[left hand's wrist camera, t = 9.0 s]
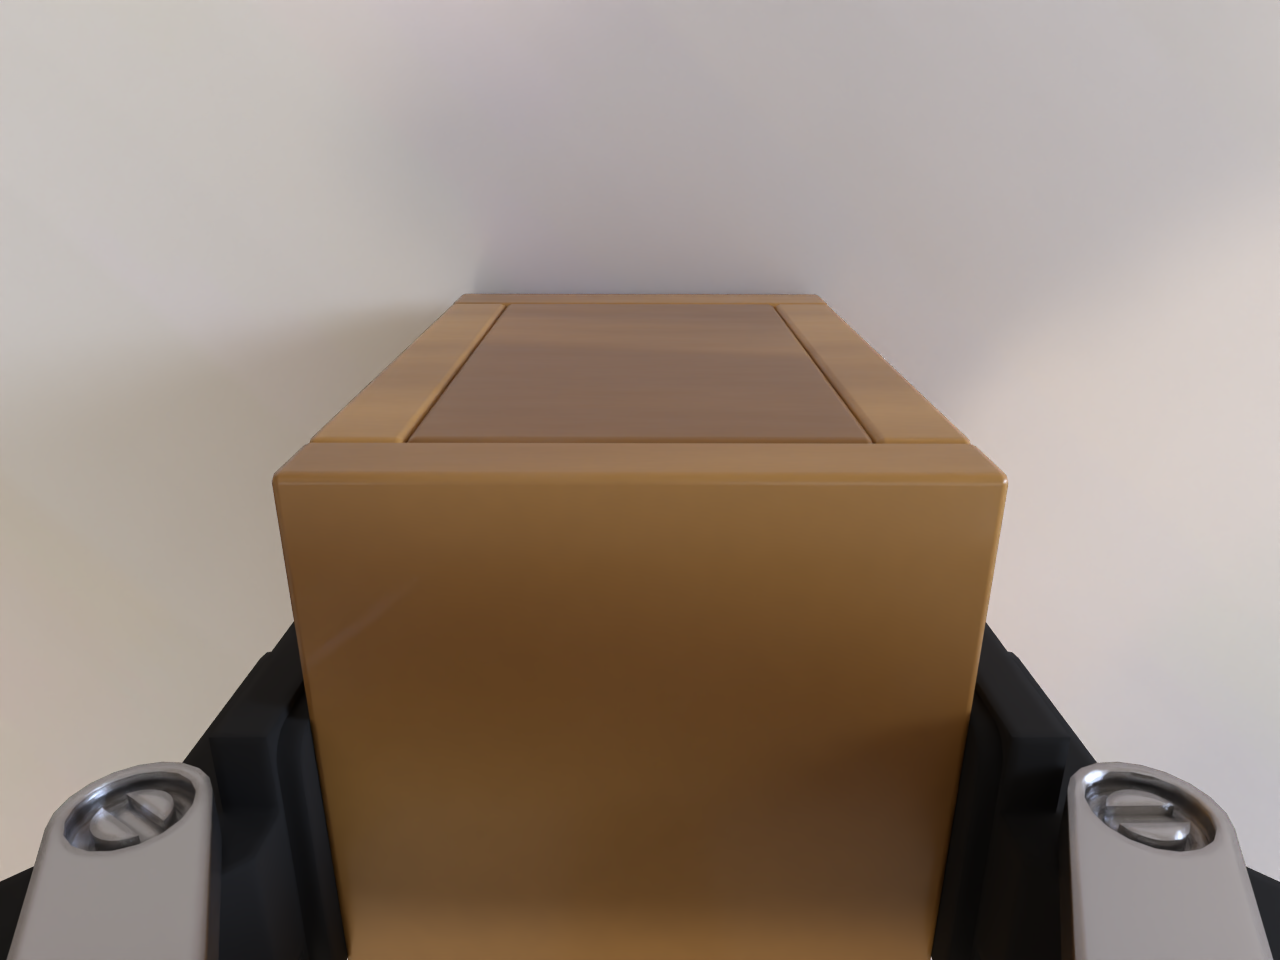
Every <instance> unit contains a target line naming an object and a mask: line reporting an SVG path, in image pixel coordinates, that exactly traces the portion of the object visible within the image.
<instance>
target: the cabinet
mask: <svg viewBox="0 0 1280 960" xmlns="http://www.w3.org/2000/svg"><path fill="white" fill-rule="evenodd" d="M272 485H273V492H274V498H275V504H276V510H277V517H278V523H279V529H280V535H281V542H282V548H283V554H284V560H285V567H286V573H287V579H288V585H289V592H290V598H291V604H292V611H293V617H294V623H295V629H296V636H297V642H298V648H299V654H300V661H301V667H302V673H303V679H304V686H305V692H306V698H307V704H308V711H309V717H310V723H311V730H312V736H313V742H314V748H315V755H316V761H317V767H318V773H319V780H320V786H321V792H322V798H323V805H324V811H325V817H326V823H327V830H328V836H329V842H330V849H331V855H332V861H333V867H334V874H335V880H336V886H337V892H338V899H339V905H340V911H341V917H342V923H343V930H344V936H345V942H346V948H347V954H348V960H930V959H931V953H932V947H933V941H934V935H935V928H936V922H937V916H938V910H939V904H940V898H941V892H942V886H943V880H944V873H945V867H946V861H947V855H948V849H949V843H950V837H951V831H952V824H953V818H954V812H955V806H956V800H957V794H958V788H959V782H960V775H961V769H962V763H963V757H964V751H965V745H966V739H967V733H968V726H969V720H970V714H971V708H972V702H973V696H974V690H975V684H976V678H977V671H978V665H979V659H980V653H981V647H982V641H983V635H984V629H985V622H986V616H987V610H988V604H989V598H990V592H991V586H992V580H993V573H994V567H995V561H996V555H997V549H998V543H999V537H1000V531H1001V524H1002V518H1003V512H1004V506H1005V500H1006V494H1007V488H1008V480H1007V476H1006V474H1005V473H1003V472H1002V471H1001V470H1000V469H999V468H998V467H997V466H996V465H995V464H994V463H993V462H992V461H991V460H990V459H989V458H988V457H987V456H986V455H985V454H983V453H982V452H981V451H980V450H979V449H978V448H977V447H976V446H974V445H971V444H970V441H969V439H968V438H967V437H966V436H965V435H964V434H962V433H961V432H960V431H959V430H958V429H957V428H956V427H955V426H954V425H953V424H952V423H951V422H950V421H949V420H948V419H947V418H946V417H945V416H944V415H942V414H941V413H940V412H939V411H938V410H937V409H936V408H935V407H934V406H933V405H932V404H931V403H930V402H929V401H928V400H927V399H926V398H925V397H924V396H922V395H921V394H920V393H919V392H918V391H917V390H916V389H915V388H914V387H913V386H912V385H911V384H910V383H909V382H908V381H907V380H906V379H905V378H904V377H902V376H901V375H900V374H899V373H898V372H897V371H896V370H895V369H894V368H893V367H892V366H891V365H890V364H889V363H888V362H887V361H886V360H885V359H883V358H882V357H881V356H880V355H879V354H878V353H877V352H876V351H875V350H874V349H873V348H872V347H871V346H870V345H869V344H868V343H867V342H866V341H865V340H863V339H862V338H861V337H860V336H859V335H858V334H857V333H856V332H855V331H854V330H853V329H852V328H851V327H850V326H849V325H848V324H847V323H846V322H845V321H843V320H842V319H841V318H840V317H839V316H838V315H837V314H836V313H835V312H834V311H833V310H832V309H831V308H830V307H829V306H827V304H826V303H825V302H824V301H823V300H822V299H821V298H820V297H819V296H817V295H770V294H464V295H462V296H461V297H460V298H459V299H458V300H457V301H456V302H455V303H454V304H453V305H452V306H451V307H450V308H449V309H448V310H447V311H446V312H445V313H444V314H443V315H441V316H440V317H439V318H438V319H437V320H436V321H435V322H434V323H433V324H432V325H431V326H430V327H429V328H428V329H427V330H426V331H425V332H423V333H422V334H421V335H420V336H419V337H418V338H417V339H416V340H415V341H414V342H413V343H412V344H411V345H410V346H409V347H408V348H406V349H405V350H404V351H403V352H402V353H401V354H400V355H399V356H398V357H397V358H396V359H395V360H394V361H393V362H392V363H391V364H390V365H388V366H387V367H386V368H385V369H384V370H383V371H382V372H381V373H380V374H379V375H378V376H377V377H376V378H375V379H374V380H373V381H372V382H370V383H369V384H368V385H367V386H366V387H365V388H364V389H363V390H362V391H361V392H360V393H359V394H358V395H357V396H356V397H355V398H354V399H352V400H351V401H350V402H349V403H348V404H347V405H346V406H345V407H344V408H343V409H342V410H341V411H340V412H339V413H338V414H337V415H336V416H334V417H333V418H332V419H331V420H330V421H329V422H328V423H327V424H326V425H325V426H324V427H323V428H322V429H321V430H320V431H319V432H318V433H316V434H315V435H314V436H313V437H312V438H311V440H310V443H309V444H306V445H304V446H303V447H302V448H301V449H300V450H299V451H298V452H297V453H296V454H295V455H293V456H292V457H291V458H290V459H289V460H288V461H287V462H286V463H285V464H284V465H283V466H282V467H281V468H280V469H279V470H278V471H277V472H275V473H274V476H273V480H272Z"/></svg>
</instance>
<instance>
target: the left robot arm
mask: <svg viewBox="0 0 1280 960" xmlns="http://www.w3.org/2000/svg"><path fill="white" fill-rule="evenodd" d="M931 957H932V960H1280V882H1279V881H1276V880H1274V879H1272V878H1270V877H1268V876H1266V875H1263V874H1261V873H1259V872H1257V871H1255V870H1252V869H1250V868H1248V867H1246V865H1245V862H1244V858H1243V855H1242V851H1241V848H1240V845H1239V841H1238V838H1237V834H1236V831H1235V828H1234V826H1233V825H1232V823H1231V821H1230V819H1229V817H1228V815H1227V813H1226V812H1225V811H1224V810H1223V809H1222V808H1221V807H1220V806H1219V805H1218V804H1217V803H1216V802H1215V801H1214V800H1213V799H1212V798H1211V797H1209V796H1208V795H1206V794H1205V793H1203V792H1202V791H1200V790H1199V789H1197V788H1196V787H1194V786H1193V785H1191V784H1190V783H1188V782H1185V781H1183V780H1181V779H1179V778H1177V777H1175V776H1173V775H1170V774H1168V773H1166V772H1163V771H1159V770H1156V769H1153V768H1149V767H1146V766H1143V765H1137V764H1130V763H1122V762H1105V763H1097V762H1096V761H1095V760H1094V758H1093V757H1092V756H1091V754H1090V753H1089V752H1088V750H1087V749H1086V748H1085V746H1084V745H1083V744H1082V742H1081V741H1080V740H1079V738H1078V737H1077V736H1076V734H1075V733H1074V732H1073V730H1072V729H1071V728H1070V726H1069V725H1068V724H1067V722H1066V721H1065V719H1064V718H1063V717H1062V715H1061V714H1060V713H1059V711H1058V710H1057V709H1056V707H1055V706H1054V705H1053V703H1052V702H1051V701H1050V699H1049V698H1048V697H1047V695H1046V694H1045V693H1044V691H1043V690H1042V689H1041V687H1040V686H1039V685H1038V683H1037V682H1036V681H1035V679H1034V678H1033V677H1032V675H1031V674H1030V673H1029V671H1028V670H1027V669H1026V667H1025V666H1024V665H1023V663H1022V662H1021V661H1020V659H1019V658H1018V657H1017V656H1016V655H1014V654H1013V653H1012V652H1007V650H1006V649H1005V648H1004V646H1003V645H1002V643H1001V642H1000V641H999V639H998V638H997V637H996V635H995V634H994V633H993V631H992V630H991V629H990V627H989V626H988V624H987V623H986V622H985V629H984V635H983V641H982V647H981V653H980V659H979V665H978V671H977V678H976V684H975V690H974V696H973V702H972V708H971V714H970V720H969V726H968V733H967V739H966V745H965V751H964V757H963V763H962V769H961V775H960V782H959V788H958V794H957V800H956V806H955V812H954V818H953V824H952V831H951V837H950V843H949V849H948V855H947V861H946V867H945V873H944V880H943V886H942V892H941V898H940V904H939V910H938V916H937V922H936V928H935V935H934V941H933V947H932V953H931ZM347 958H348V954H347V948H346V942H345V936H344V930H343V923H342V917H341V911H340V905H339V899H338V892H337V886H336V880H335V874H334V867H333V861H332V855H331V849H330V842H329V836H328V830H327V823H326V817H325V811H324V805H323V798H322V792H321V786H320V780H319V773H318V767H317V761H316V755H315V748H314V742H313V736H312V730H311V723H310V717H309V711H308V704H307V698H306V692H305V686H304V679H303V673H302V667H301V661H300V654H299V648H298V642H297V636H296V629H295V623H294V622H293V623H292V625H291V626H290V627H289V629H288V630H287V632H286V633H285V634H284V636H283V637H282V638H281V640H280V641H279V642H278V644H277V645H276V646H275V648H274V649H273V651H272V652H267V653H266V654H265V655H264V656H263V657H262V658H260V660H259V661H258V662H257V664H256V665H255V666H254V668H253V669H252V670H251V672H250V673H249V674H248V676H247V677H246V678H245V680H244V681H243V682H242V684H241V685H240V686H239V688H238V689H237V690H236V692H235V693H234V694H233V696H232V697H231V698H230V700H229V701H228V702H227V704H226V705H225V706H224V708H223V709H222V710H221V712H220V713H219V714H218V716H217V717H216V718H215V720H214V721H213V722H212V724H211V725H210V726H209V728H208V729H207V730H206V732H205V733H204V734H203V736H202V737H201V739H200V740H199V741H198V743H197V744H196V745H195V747H194V748H193V749H192V751H191V752H190V753H189V755H188V756H187V757H186V759H185V760H184V761H183V763H175V762H158V763H150V764H143V765H137V766H134V767H131V768H127V769H124V770H121V771H117V772H114V773H112V774H110V775H107V776H105V777H103V778H101V779H99V780H97V781H95V782H92V783H90V784H89V785H87V786H86V787H84V788H83V789H81V790H80V791H78V792H77V793H75V794H74V795H72V796H71V797H69V798H68V799H67V800H66V801H65V802H64V803H63V804H62V805H61V806H60V807H59V808H58V809H57V810H56V811H55V812H54V813H53V815H52V817H51V819H50V821H49V823H48V825H47V826H46V828H45V831H44V834H43V838H42V841H41V845H40V848H39V851H38V855H37V858H36V862H35V865H34V867H31V868H29V869H27V870H25V871H23V872H20V873H18V874H16V875H14V876H12V877H10V878H7V879H5V880H3V881H1V882H0V960H347Z"/></svg>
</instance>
